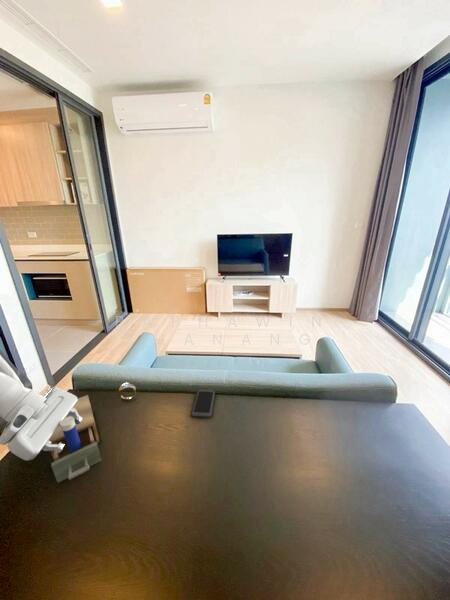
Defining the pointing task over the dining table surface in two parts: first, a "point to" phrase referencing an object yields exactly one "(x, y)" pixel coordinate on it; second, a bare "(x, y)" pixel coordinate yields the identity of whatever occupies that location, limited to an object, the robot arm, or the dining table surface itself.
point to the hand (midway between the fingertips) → (72, 434)
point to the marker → (71, 434)
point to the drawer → (76, 457)
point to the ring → (124, 388)
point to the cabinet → (87, 421)
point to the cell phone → (203, 403)
